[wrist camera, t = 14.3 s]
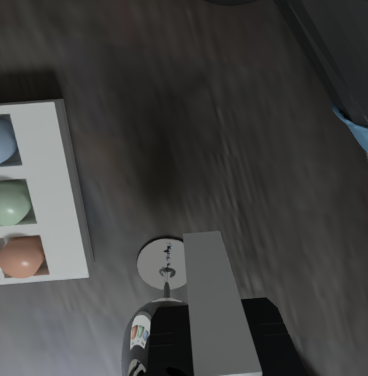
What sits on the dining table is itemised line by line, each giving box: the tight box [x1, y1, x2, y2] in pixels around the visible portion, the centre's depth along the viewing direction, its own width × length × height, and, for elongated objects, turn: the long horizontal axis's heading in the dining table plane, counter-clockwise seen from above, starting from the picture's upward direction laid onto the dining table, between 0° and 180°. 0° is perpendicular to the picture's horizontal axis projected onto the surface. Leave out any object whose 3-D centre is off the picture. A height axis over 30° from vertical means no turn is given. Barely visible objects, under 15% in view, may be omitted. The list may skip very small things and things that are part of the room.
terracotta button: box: [0, 235, 45, 278], centre depth 38 cm, size 4×4×3 cm
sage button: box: [0, 179, 33, 226], centre depth 36 cm, size 4×4×3 cm
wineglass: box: [121, 238, 188, 376], centre depth 33 cm, size 8×8×20 cm
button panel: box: [0, 99, 94, 285], centre depth 37 cm, size 20×14×3 cm
